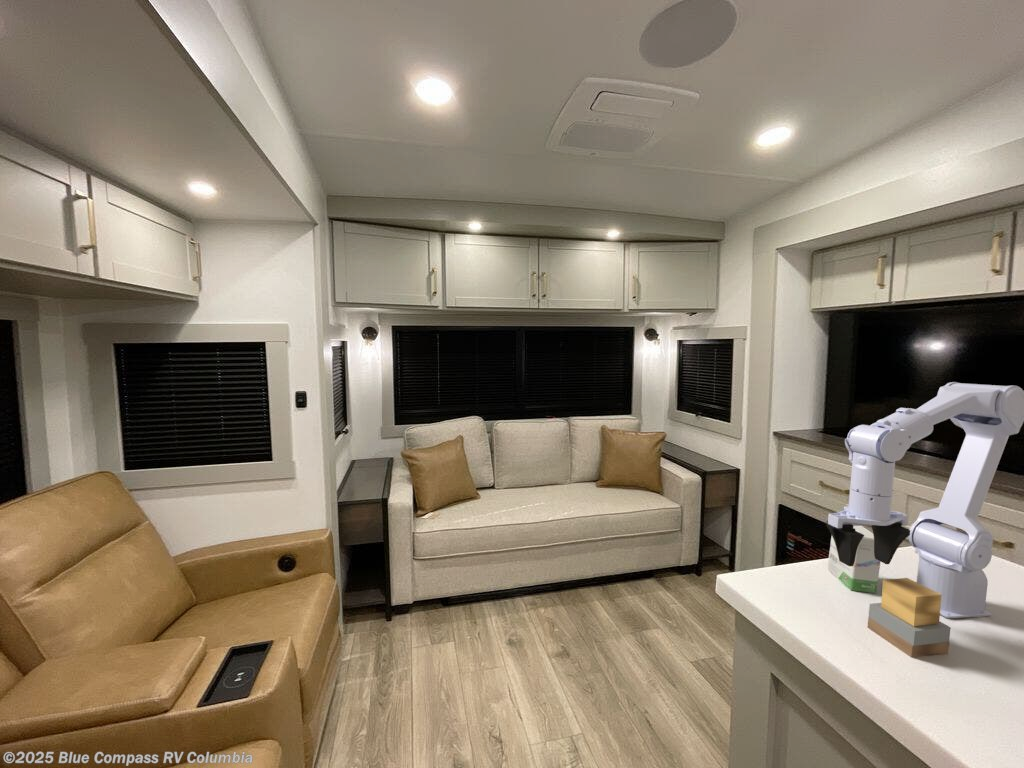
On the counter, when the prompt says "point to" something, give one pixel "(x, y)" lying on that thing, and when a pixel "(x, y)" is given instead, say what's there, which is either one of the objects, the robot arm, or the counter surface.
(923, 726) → the counter surface
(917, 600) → the ochre cube
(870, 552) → the ink box
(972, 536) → the robot arm
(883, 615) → the slate-grey slab
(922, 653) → the walnut slab
